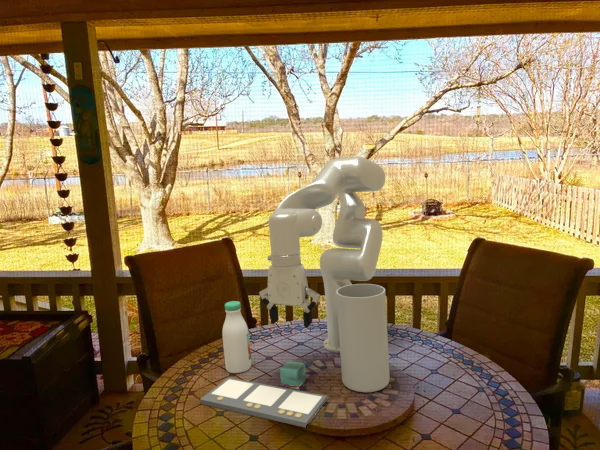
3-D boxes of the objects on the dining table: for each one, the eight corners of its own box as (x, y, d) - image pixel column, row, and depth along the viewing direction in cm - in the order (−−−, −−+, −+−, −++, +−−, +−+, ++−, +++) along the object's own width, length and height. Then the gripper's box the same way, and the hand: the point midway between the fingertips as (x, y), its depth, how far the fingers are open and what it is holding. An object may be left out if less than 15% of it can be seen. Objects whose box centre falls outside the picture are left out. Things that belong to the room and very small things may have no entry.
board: (228, 381, 121) (227, 376, 121) (327, 400, 107) (327, 394, 107) (200, 403, 110) (199, 398, 110) (306, 427, 97) (305, 421, 97)
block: (290, 378, 121) (288, 360, 120) (306, 380, 118) (304, 363, 118) (281, 386, 116) (279, 368, 115) (297, 389, 114) (296, 371, 113)
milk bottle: (247, 374, 124) (240, 307, 122) (221, 373, 126) (214, 307, 123) (255, 362, 132) (249, 298, 129) (231, 361, 133) (224, 299, 131)
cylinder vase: (361, 366, 124) (356, 281, 121) (399, 379, 115) (394, 288, 112) (332, 383, 115) (326, 292, 112) (370, 399, 106) (365, 300, 103)
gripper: (250, 262, 112) (255, 326, 114) (311, 264, 105) (315, 332, 107) (264, 256, 119) (269, 316, 121) (322, 258, 111) (326, 322, 114)
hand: (291, 324), depth 114 cm, fingers open, 9 cm apart
